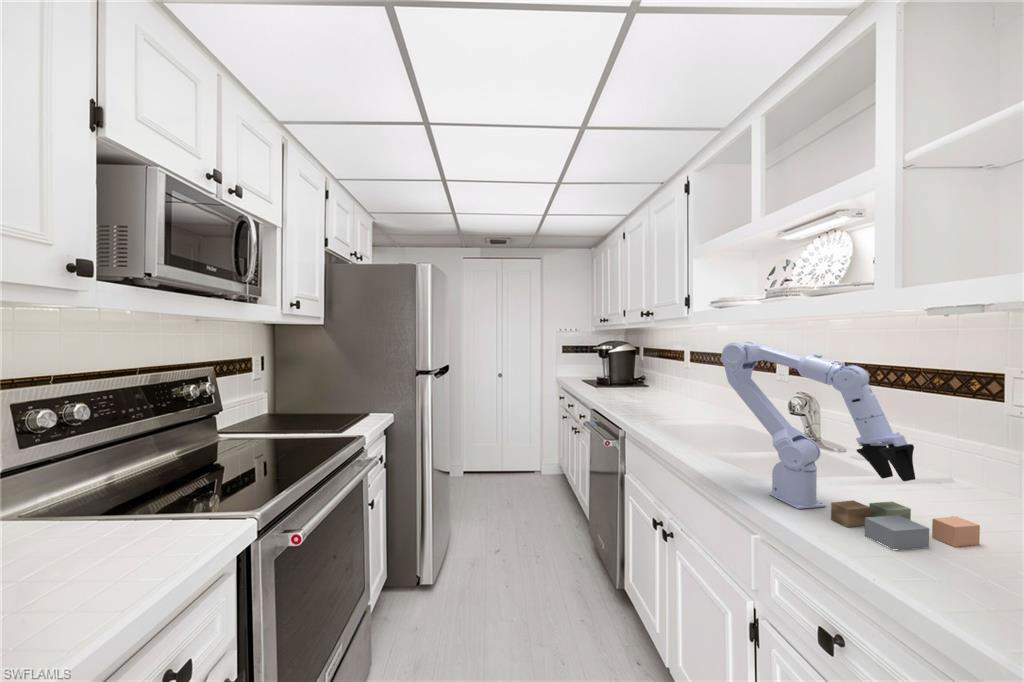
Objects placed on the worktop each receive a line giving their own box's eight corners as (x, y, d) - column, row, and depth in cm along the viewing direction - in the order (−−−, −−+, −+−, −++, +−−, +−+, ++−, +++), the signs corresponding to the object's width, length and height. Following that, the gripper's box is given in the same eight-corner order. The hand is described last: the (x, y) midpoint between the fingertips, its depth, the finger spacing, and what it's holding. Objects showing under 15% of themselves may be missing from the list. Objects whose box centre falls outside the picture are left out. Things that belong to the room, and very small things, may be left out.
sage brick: (869, 520, 97) (869, 503, 97) (891, 518, 98) (892, 501, 98) (886, 528, 93) (887, 510, 93) (910, 526, 94) (910, 508, 94)
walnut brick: (831, 519, 98) (831, 502, 98) (853, 517, 99) (853, 500, 99) (847, 527, 94) (847, 509, 94) (870, 525, 95) (870, 507, 95)
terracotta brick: (932, 537, 89) (932, 518, 89) (955, 535, 90) (956, 516, 90) (954, 547, 85) (955, 527, 85) (979, 544, 86) (979, 525, 86)
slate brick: (864, 536, 90) (865, 517, 90) (898, 533, 91) (898, 515, 91) (893, 550, 84) (893, 530, 84) (928, 548, 85) (929, 528, 85)
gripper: (908, 410, 89) (942, 476, 85) (869, 414, 102) (897, 472, 98) (872, 419, 90) (903, 485, 86) (838, 422, 103) (864, 479, 100)
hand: (897, 478), depth 92 cm, fingers open, 7 cm apart
